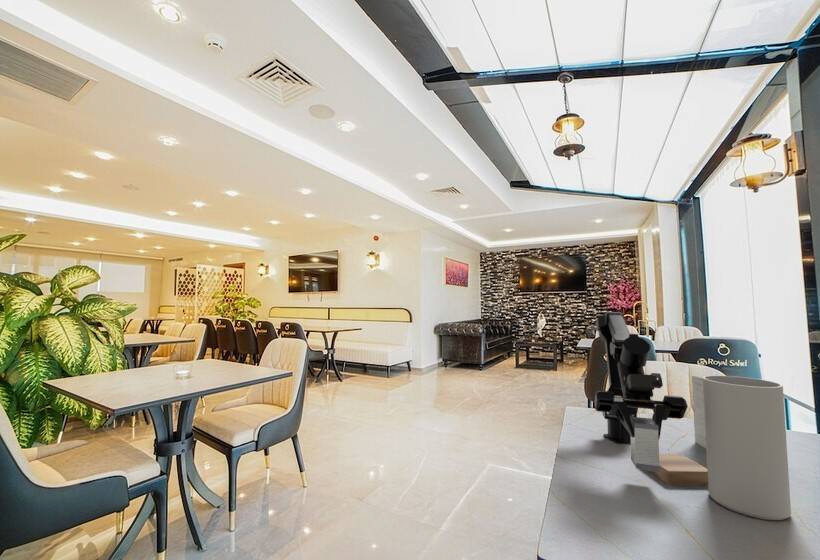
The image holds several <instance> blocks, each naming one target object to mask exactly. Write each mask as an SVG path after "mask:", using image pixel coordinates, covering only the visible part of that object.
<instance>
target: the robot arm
mask: <svg viewBox="0 0 820 560" xmlns="http://www.w3.org/2000/svg"><path fill="white" fill-rule="evenodd" d="M595 330H596V332H597V333H598V338H599V339H600V340H601V341H602V343H604V347H605V348H604V349H605V355H606V365H607V376H608V384H609V385H608V386H609V387H608V389H607V390H597V391H596V392H595V397H594V409H595V411H596V412H599V413H600V412H601V413H602V417H603V418H604V420H607V433H604V434H603V437H605V438H606V439H609V440H611V441H613V442H615V443H616V444H623V443H624V444H625V443H631V437H634V431H633V426H632V423H631V420H630V417H638V412H639V411H638V410H639V409H646V410H647V409H648V410H652V411H653V413H652V416H651V419H653V420H654V421H655V422H656V424H657V425H658V428H659V430H658V439H659V440H660V439H661V431H662V425H663V424H662V422H663V421H667V420H668V419H677V420H680V419H683V418H684V416H685V414H686V412H687V410H688V403H687V400H686V399H685V398H684V397H683V396H679V395H677V396H676V395H664V397H663V400H654V399H652V398H653V397H654V390H655V389H661V388H662V387H663V385H664V384H663V379H662V375H661V373H658V372H651V373H650V374H646V373H645V370H644V367H646V365H647V361H648V358H649V354H650V351H651V345H650V343H649V342H648V341H647V340H645V338H641V337H639V334H638V333H630V330H629V328H628V325H627V318H626V316H624V312H621V311H615V312H614V311H607V312H604V314H603V315H600V316H598V317H597V318H596V321H595Z"/></svg>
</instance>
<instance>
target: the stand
mask: <svg viewBox="0 0 820 560" xmlns="http://www.w3.org/2000/svg"><path fill="white" fill-rule="evenodd" d="M659 466H660V472H658V471H650V470H648V472H650V473H651V474H653V475H655V476H656V477H657V478H658V479H660V480H662V482H664V483H666V484H667V485H670V486H708V471H707V467H705V466H703V465H701V464H699V463H697V462H696V461H695V460H693V459H692V458H691V459H690V458H688V457H686V456H685V455H683V454H680V453H679V454H678V453H674V454H671V453H668V454H667V453H665V454H664V453H662V454H661V453H659Z"/></svg>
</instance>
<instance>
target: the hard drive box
mask: <svg viewBox="0 0 820 560" xmlns="http://www.w3.org/2000/svg"><path fill="white" fill-rule="evenodd" d="M704 376H705V375H704ZM704 376H702V375H692V376H691V382H692V383H691V384H692V403H693V422H694V423H693V424H694V440H695V443H696V444H698V445H699V446H701V447H702V448H705V449H706V431H705V410H704V390H703V377H704Z"/></svg>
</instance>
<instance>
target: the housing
mask: <svg viewBox="0 0 820 560" xmlns="http://www.w3.org/2000/svg"><path fill="white" fill-rule="evenodd" d="M630 420H631V423H632V426H633V431H634V437H631V442H630V460H631V462H632V464H633V465H634V467H635V469H637V470H643V471H649V470H650V471H658V472H660V466H659V454H660V443H659V442H660V439H658V430H659V428H658V425H657V424H656V422H655V421H654V420H653V419H652V418H651V417H650V418H649V417H648V418H647V417H638V416H637V417H630ZM650 471H649V472H650Z"/></svg>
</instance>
